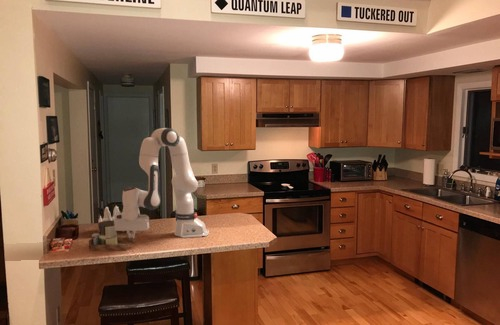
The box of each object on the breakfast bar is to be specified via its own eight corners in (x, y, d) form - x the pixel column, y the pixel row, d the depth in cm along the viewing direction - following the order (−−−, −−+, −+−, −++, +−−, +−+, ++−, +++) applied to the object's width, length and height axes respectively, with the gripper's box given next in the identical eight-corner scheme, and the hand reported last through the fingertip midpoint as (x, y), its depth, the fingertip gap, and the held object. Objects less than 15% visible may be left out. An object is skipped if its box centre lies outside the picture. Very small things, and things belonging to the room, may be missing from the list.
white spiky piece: (99, 238, 262) (138, 231, 273) (101, 233, 247) (142, 226, 258) (96, 211, 267) (134, 206, 278) (97, 204, 252) (137, 199, 263)
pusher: (103, 242, 238) (102, 231, 238) (95, 248, 226) (95, 237, 226) (97, 242, 238) (96, 231, 237) (89, 249, 226) (89, 237, 226)
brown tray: (134, 241, 241) (133, 232, 240) (126, 250, 225) (126, 240, 224) (99, 242, 240) (98, 232, 240) (89, 250, 224) (88, 240, 224)
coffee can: (96, 249, 227) (95, 225, 226) (102, 243, 237) (101, 220, 236) (115, 248, 228) (114, 224, 226) (119, 243, 238) (118, 220, 237)
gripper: (150, 213, 234) (150, 235, 236) (115, 213, 234) (116, 236, 235) (147, 215, 228) (148, 239, 229) (111, 216, 228) (112, 239, 229)
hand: (131, 237), depth 232 cm, fingers closed
